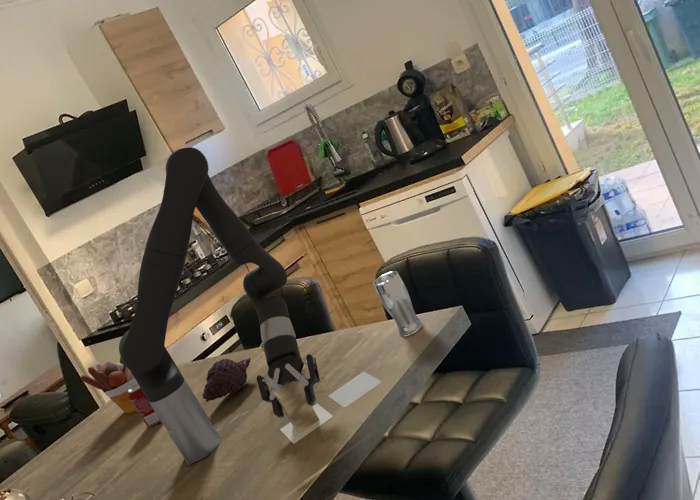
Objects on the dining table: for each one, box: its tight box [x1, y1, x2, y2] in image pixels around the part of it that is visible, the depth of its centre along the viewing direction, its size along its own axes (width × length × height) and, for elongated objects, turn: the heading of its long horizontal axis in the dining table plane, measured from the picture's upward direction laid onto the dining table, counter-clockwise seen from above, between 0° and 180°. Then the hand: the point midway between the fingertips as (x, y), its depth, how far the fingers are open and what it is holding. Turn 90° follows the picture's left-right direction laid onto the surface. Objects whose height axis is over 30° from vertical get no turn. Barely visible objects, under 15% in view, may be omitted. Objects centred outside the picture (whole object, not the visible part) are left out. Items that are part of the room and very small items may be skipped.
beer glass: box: [372, 270, 423, 337], centre depth 162 cm, size 7×7×15 cm
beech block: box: [273, 380, 319, 433], centre depth 142 cm, size 5×5×9 cm
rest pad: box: [328, 371, 382, 408], centre depth 148 cm, size 10×10×1 cm
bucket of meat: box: [80, 355, 138, 414], centre depth 208 cm, size 20×16×20 cm
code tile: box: [279, 403, 334, 445], centre depth 143 cm, size 10×10×1 cm
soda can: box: [128, 383, 162, 427], centre depth 188 cm, size 7×7×12 cm
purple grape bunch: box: [202, 357, 251, 403], centre depth 180 cm, size 18×10×10 cm, turn 140°
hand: (295, 410), depth 141 cm, fingers closed on beech block, 7 cm apart
